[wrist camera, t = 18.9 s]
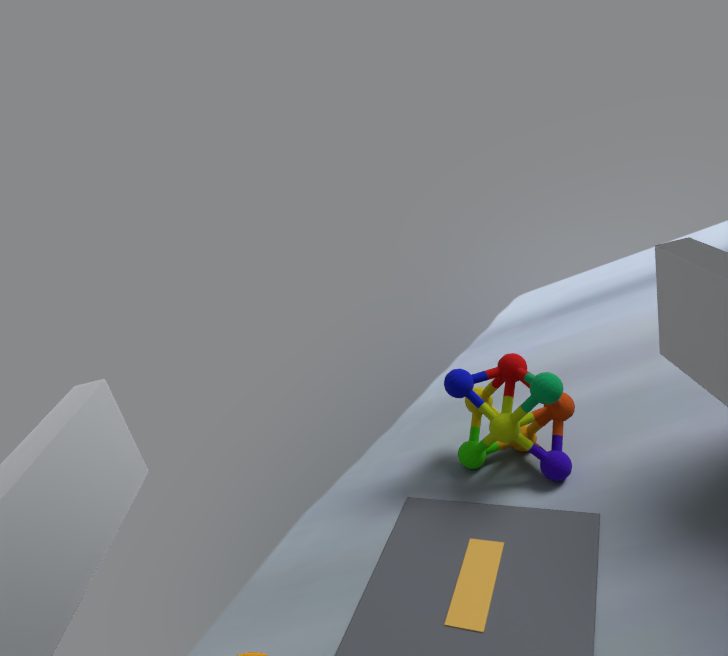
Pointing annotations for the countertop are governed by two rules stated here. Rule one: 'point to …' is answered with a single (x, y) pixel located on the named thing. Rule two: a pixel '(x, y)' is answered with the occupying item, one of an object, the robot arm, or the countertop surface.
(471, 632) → the mat
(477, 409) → the molecular model
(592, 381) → the countertop surface
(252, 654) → the cylinder
